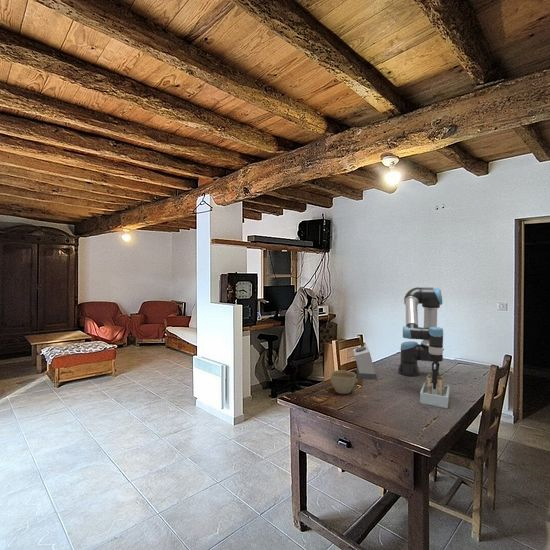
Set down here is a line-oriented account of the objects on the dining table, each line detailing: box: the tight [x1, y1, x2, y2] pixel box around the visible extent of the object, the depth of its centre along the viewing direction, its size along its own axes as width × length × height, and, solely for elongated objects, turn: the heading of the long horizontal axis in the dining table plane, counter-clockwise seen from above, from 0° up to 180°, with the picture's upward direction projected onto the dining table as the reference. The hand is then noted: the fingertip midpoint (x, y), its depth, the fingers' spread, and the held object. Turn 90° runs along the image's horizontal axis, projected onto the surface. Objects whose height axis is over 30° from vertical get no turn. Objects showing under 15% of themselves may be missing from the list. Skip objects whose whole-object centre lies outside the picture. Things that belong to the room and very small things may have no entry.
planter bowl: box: [329, 370, 357, 395], centre depth 208 cm, size 16×16×11 cm
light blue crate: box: [419, 381, 450, 409], centre depth 196 cm, size 14×22×6 cm, turn 150°
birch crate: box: [425, 373, 445, 396], centre depth 196 cm, size 9×9×9 cm
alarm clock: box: [353, 345, 379, 381], centre depth 243 cm, size 20×16×20 cm
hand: (435, 391), depth 196 cm, fingers closed on birch crate, 9 cm apart
